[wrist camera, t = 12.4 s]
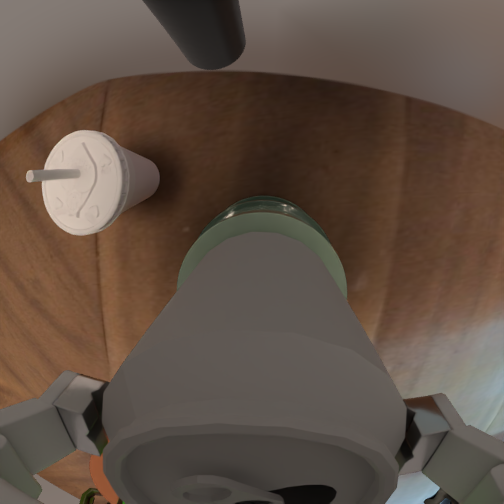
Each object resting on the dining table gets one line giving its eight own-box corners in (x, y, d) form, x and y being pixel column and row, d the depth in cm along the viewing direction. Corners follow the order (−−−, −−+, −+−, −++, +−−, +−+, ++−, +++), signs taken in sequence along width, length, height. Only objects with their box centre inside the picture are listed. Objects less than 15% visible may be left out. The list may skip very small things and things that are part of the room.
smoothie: (181, 147, 24) (89, 120, 10) (168, 221, 25) (73, 268, 12) (115, 139, 24) (1, 122, 10) (105, 209, 25) (-9, 241, 12)
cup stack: (207, 192, 25) (169, 202, 15) (327, 199, 24) (363, 214, 14) (205, 303, 27) (176, 366, 17) (315, 310, 27) (336, 376, 17)
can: (258, 379, 17) (244, 568, 5) (164, 293, 16) (32, 459, 4) (359, 301, 16) (468, 482, 4) (265, 196, 15) (257, 269, 3)
